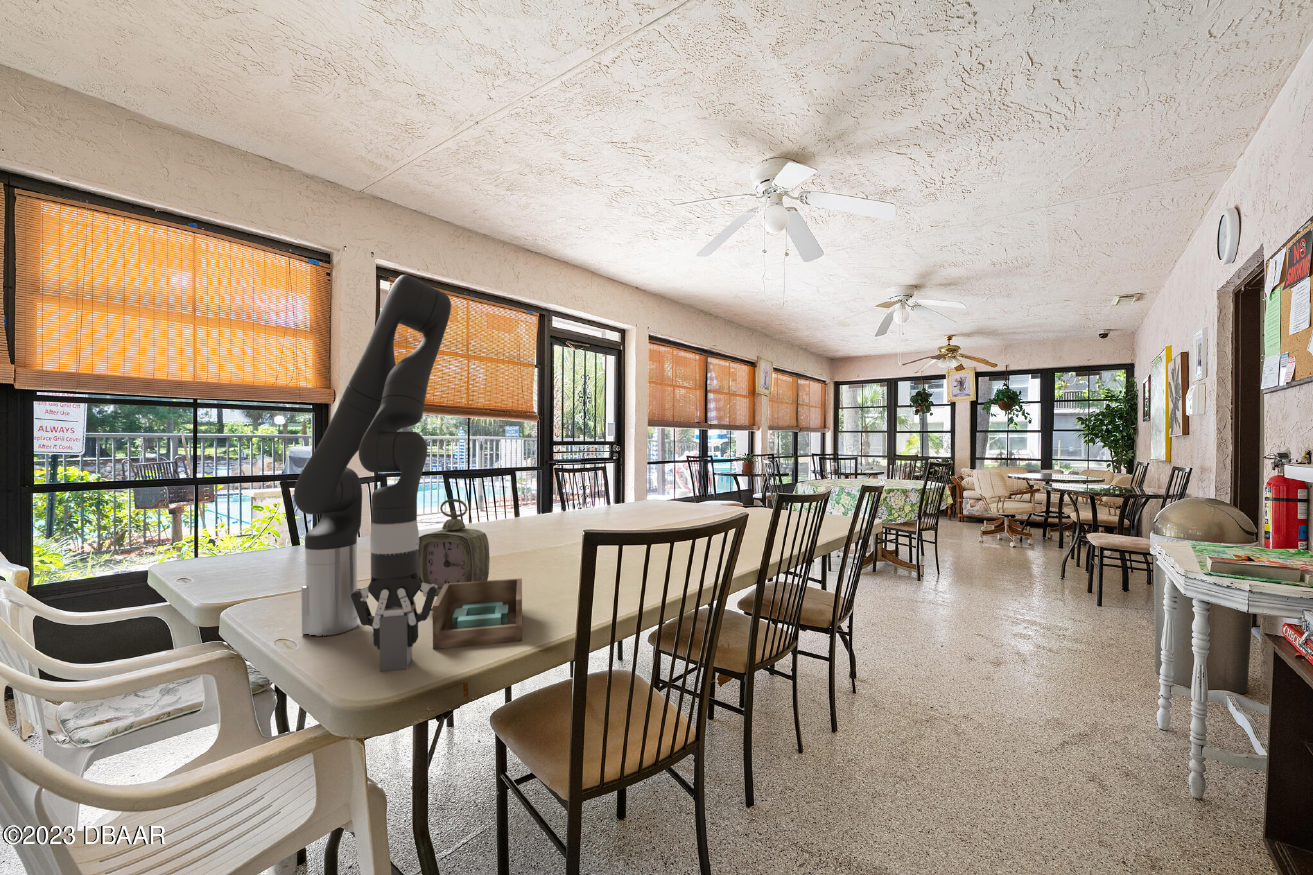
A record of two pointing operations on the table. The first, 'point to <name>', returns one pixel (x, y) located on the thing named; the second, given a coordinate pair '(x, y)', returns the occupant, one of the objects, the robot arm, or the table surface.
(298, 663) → the table surface
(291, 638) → the table surface
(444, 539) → the tabletop clock
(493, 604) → the walled box
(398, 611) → the block
